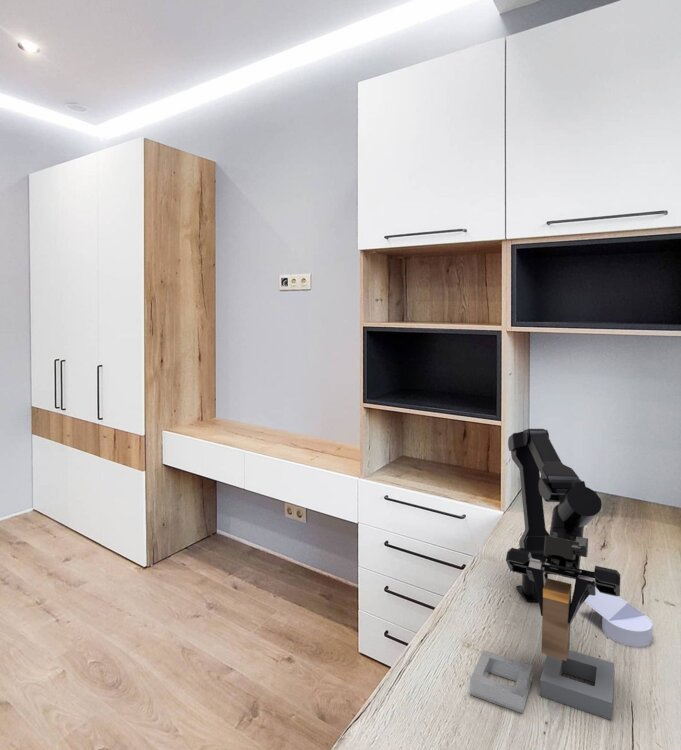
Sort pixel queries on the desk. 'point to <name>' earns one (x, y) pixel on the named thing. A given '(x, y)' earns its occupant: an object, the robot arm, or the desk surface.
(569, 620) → the robot arm
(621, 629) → the wedge on round base
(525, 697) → the frame
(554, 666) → the socket
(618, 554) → the desk surface
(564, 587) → the plug
